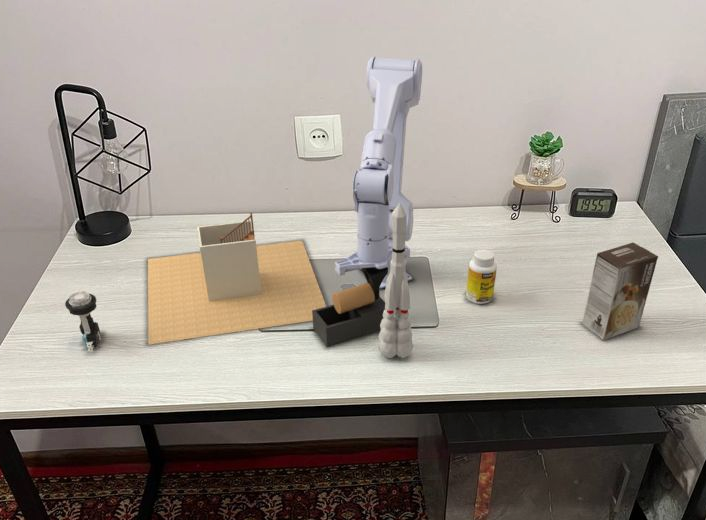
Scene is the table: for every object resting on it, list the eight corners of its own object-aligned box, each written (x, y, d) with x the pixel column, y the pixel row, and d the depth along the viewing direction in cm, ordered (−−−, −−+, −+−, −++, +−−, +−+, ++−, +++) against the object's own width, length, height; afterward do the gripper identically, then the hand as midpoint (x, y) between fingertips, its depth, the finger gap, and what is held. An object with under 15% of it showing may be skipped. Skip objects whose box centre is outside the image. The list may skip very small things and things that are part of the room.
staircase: (262, 294, 145) (254, 221, 135) (209, 301, 143) (196, 228, 133) (257, 272, 152) (249, 202, 141) (206, 279, 149) (194, 208, 139)
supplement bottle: (477, 308, 141) (482, 264, 134) (460, 295, 144) (464, 252, 138) (498, 299, 143) (504, 256, 137) (480, 287, 147) (485, 244, 141)
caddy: (313, 329, 135) (311, 307, 132) (374, 311, 140) (374, 290, 137) (327, 347, 130) (325, 325, 127) (389, 328, 135) (390, 307, 132)
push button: (105, 351, 129) (92, 307, 123) (75, 355, 128) (60, 310, 122) (108, 331, 134) (96, 287, 128) (79, 334, 134) (65, 290, 128)
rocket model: (397, 370, 125) (401, 218, 107) (367, 352, 129) (366, 204, 111) (423, 351, 129) (432, 202, 111) (393, 335, 133) (397, 189, 115)
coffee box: (616, 311, 140) (634, 240, 130) (639, 328, 135) (660, 256, 125) (580, 324, 136) (596, 252, 126) (603, 341, 132) (621, 268, 122)
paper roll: (332, 307, 133) (331, 289, 130) (365, 296, 135) (364, 278, 132) (341, 317, 130) (340, 300, 127) (375, 306, 132) (374, 289, 129)
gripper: (346, 252, 119) (347, 317, 128) (419, 234, 125) (416, 298, 133) (329, 235, 124) (332, 299, 133) (400, 218, 130) (398, 280, 138)
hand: (373, 297), depth 133 cm, fingers closed, pressing on paper roll
